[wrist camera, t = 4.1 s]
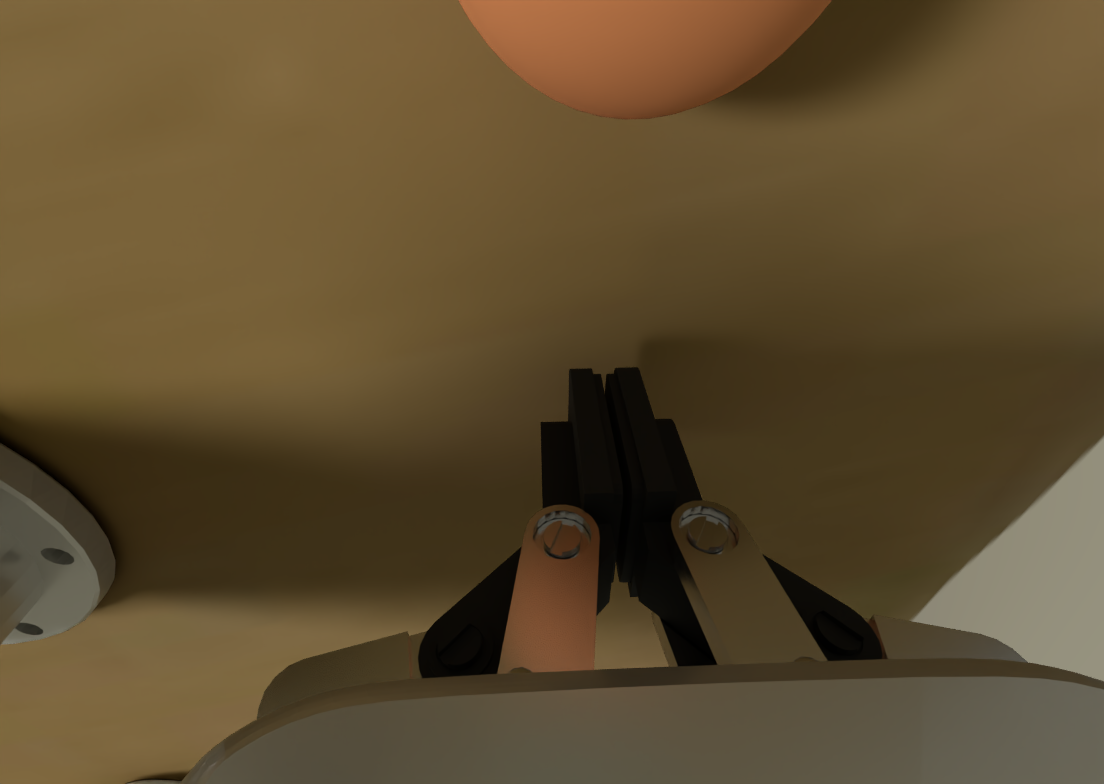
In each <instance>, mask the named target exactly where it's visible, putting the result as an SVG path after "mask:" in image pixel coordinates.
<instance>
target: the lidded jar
mask: <svg viewBox="0 0 1104 784" xmlns="http://www.w3.org/2000/svg"><path fill="white" fill-rule="evenodd" d="M181 782H182V781H176V780H156V779H154V780H140V781H134V782H130V783H127V784H180V783H181Z"/></svg>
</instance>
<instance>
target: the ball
mask: <svg viewBox="0 0 1104 784" xmlns="http://www.w3.org/2000/svg"><path fill="white" fill-rule="evenodd" d="M831 1H832V0H459V2H460V4H461V6H462V7H463V9H464V11H465V13H466V14H467V16H468V18H469V19H470V21H471V22H472V24H473V25H474V26H475V28H476V29H477V30H478V32H479V33H480V35H481V36H482V37H483V39H484V40H485V41H486V43H487V44H488V45H489V47H490V48H491V49H492V50H493V51H494V52H495V53H496V54H497V55H498V56H499V57H500V58H501V60H502V61H503V62H504V63H505V64H506V65H507V66H508V67H509V68H510V69H511V70H513V71H514V72H515V73H516V74H517V75H519V76H520V77H521V78H522V79H523V80H525V81H526V82H527V83H528V84H529V85H531V86H532V87H534V88H535V89H537V90H539V91H540V92H542V93H543V94H545V95H547V96H548V97H550V98H551V99H553V100H555V101H557V102H560V103H562V104H564V105H567V106H569V107H571V108H573V109H576V110H579V111H582V112H586V113H590V114H593V115H597V116H601V117H609V118H618V119H649V118H655V117H661V116H666V115H672V114H676V113H679V112H682V111H685V110H688V109H691V108H694V107H697V106H700V105H703V104H706V103H708V102H710V101H712V100H714V99H716V98H718V97H720V96H722V95H724V94H727V93H729V92H731V91H732V90H734V89H736V88H737V87H739V86H740V85H742V84H743V83H745V82H746V81H748V80H750V79H751V78H753V77H754V76H756V75H757V74H759V73H760V72H761V71H762V70H763V69H765V68H766V67H767V66H768V65H770V64H771V63H772V62H773V61H775V60H776V59H777V58H778V57H779V56H781V55H782V54H783V53H784V52H785V51H786V50H787V49H788V48H789V47H790V46H791V45H792V44H793V43H794V42H795V41H796V40H797V39H798V38H799V37H800V36H801V35H802V34H803V33H804V32H805V31H806V30H807V29H808V28H809V27H810V26H811V25H812V24H813V23H814V22H815V20H816V19H817V18H818V17H819V16H820V14H821V13H822V12H823V11H824V9H825V8H826V7H827V6H828V5H829V3H830V2H831Z"/></svg>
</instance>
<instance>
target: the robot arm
mask: <svg viewBox="0 0 1104 784" xmlns="http://www.w3.org/2000/svg"><path fill="white" fill-rule="evenodd" d="M541 455H542V496H543V509H542V510H540V511H539V512H537V513H535V514H534V516H533V517H532V518H531V519H530V520H529V522H528V524H527V527H526V529H525V533H524V538H523V544H522V547H521V548H520V549H519V550H517V551H516V552H515V553H514V554H513V555H512V556H510V557H509V558H508V559H507V560H506V561H505V562H504V563H502V564H501V565H500V566H499V567H498V568H497V569H496V570H494V571H493V572H492V573H491V574H490V575H489V576H487V577H486V578H485V579H484V580H483V581H482V582H481V583H479V584H478V585H477V586H476V587H475V588H474V589H473V590H471V591H470V592H469V593H468V594H467V595H466V596H464V597H463V598H462V599H461V600H460V601H459V602H458V603H456V604H455V605H454V606H453V607H452V608H451V609H450V610H448V611H447V612H446V613H445V614H444V615H443V616H441V617H440V618H439V619H438V620H437V621H436V622H435V623H434V624H433V625H432V626H431V627H430V629H429V630H428V631H426V632H422V633H419V634H415V635H411V636H409V634H408V631H407V632H403V633H399V634H396V635H392V636H388V637H384V638H381V639H377V640H373V641H370V642H366V643H362V644H358V645H355V646H351V647H347V648H343V649H340V650H336V651H332V652H328V653H325V654H321V655H317V656H313V657H310V658H306V659H303V660H300V661H298V662H296V663H294V664H291V665H289V666H288V667H287V668H285V669H284V670H283V671H282V672H280V673H279V674H278V675H277V676H276V677H275V678H274V679H273V680H272V682H271V683H270V685H269V686H268V687H267V689H266V690H265V692H264V694H263V697H262V700H261V703H260V705H259V709H258V715H257V720H255V721H253V722H251V723H249V724H248V725H246V726H244V727H243V728H241V729H240V730H238V731H236V732H235V733H233V734H231V735H230V736H228V737H227V738H226V739H224V740H223V741H222V742H220V743H219V744H217V745H216V746H215V747H213V748H212V749H211V750H210V751H209V752H208V753H207V754H206V755H204V756H203V757H202V758H201V759H200V760H199V762H198V763H197V764H196V765H195V766H194V767H193V768H192V769H191V771H190V772H189V773H188V774H187V775H186V776H185V778H184V779H183V780H182V782H181V783H180V784H1104V681H1101V680H1098V679H1094V678H1091V677H1088V676H1085V675H1082V674H1078V673H1075V672H1071V671H1067V670H1062V669H1059V668H1055V667H1050V666H1044V665H1039V664H1034V663H1028V662H1027V661H1026V660H1025V659H1023V658H1022V657H1021V656H1020V655H1019V654H1018V653H1017V652H1016V651H1014V650H1013V649H1012V648H1010V647H1008V646H1007V645H1005V644H1003V643H1002V642H1000V641H998V640H997V639H994V638H991V637H988V636H984V635H982V634H978V633H972V632H966V631H961V630H955V629H950V628H944V627H939V626H933V625H928V624H922V623H917V622H911V621H906V620H900V619H895V618H889V617H884V616H878V615H873V616H872V617H871V619H865V618H863V617H862V616H860V615H859V614H858V613H856V612H855V611H854V610H852V609H851V608H850V607H848V606H847V605H845V604H843V603H842V602H840V601H838V600H837V599H835V598H833V597H832V596H830V595H829V594H827V593H825V592H824V591H822V590H820V589H819V588H817V587H815V586H814V585H812V584H810V583H809V582H807V581H806V580H804V579H802V578H801V577H799V576H797V575H796V574H794V573H792V572H791V571H789V570H787V569H786V568H784V567H783V566H781V565H779V564H778V563H776V562H774V561H773V560H771V559H769V558H768V557H766V556H764V555H763V554H762V553H761V552H760V550H759V548H758V547H757V545H756V543H755V542H754V540H753V539H752V537H751V535H750V534H749V532H748V530H747V529H746V527H745V526H744V524H743V523H742V521H741V520H740V519H739V518H738V517H737V515H736V514H734V513H733V512H732V511H730V510H729V509H728V508H726V507H724V506H721V505H719V504H717V503H714V502H709V501H703V500H702V498H701V495H700V492H699V489H698V487H697V484H696V481H695V478H694V476H693V473H692V470H691V467H690V465H689V462H688V459H687V456H686V453H685V451H684V448H683V445H682V442H681V440H680V437H679V434H678V431H677V429H676V426H675V424H674V422H673V420H672V419H655V418H654V415H653V412H652V409H651V406H650V403H649V399H648V396H647V393H646V390H645V387H644V384H643V380H642V377H641V374H640V371H639V369H638V368H637V367H632V368H615V370H614V374H607V375H606V385H605V393H604V388H603V383H602V378H601V374H593V371H592V369H591V368H588V369H570V370H569V406H568V421H567V422H541ZM615 563H616V565H617V571H618V577H619V581H620V582H628V587H629V592H630V597H638V598H639V601H640V602H641V603H642V604H644V605H645V606H646V607H648V608H649V609H650V610H651V611H652V612H651V614H652V619H653V624H654V626H655V629H656V632H657V635H658V637H659V640H660V643H661V646H662V649H663V651H664V654H665V657H666V660H667V662H668V665H669V667H653V668H627V669H602V670H594V656H595V633H596V616H597V615H598V614H599V613H600V611H601V610H602V609H603V608H604V607H605V606H606V605H607V604H608V602H609V598H610V590H611V583H613V579H614V571H615ZM114 579H115V558H114V555H113V552H112V549H111V546H110V543H109V540H108V538H107V536H106V535H105V533H104V532H103V530H102V529H101V527H100V526H99V524H98V523H97V521H96V520H95V518H94V517H93V515H92V514H91V513H90V512H89V511H88V510H87V509H86V508H85V507H84V506H83V505H82V504H81V503H80V502H79V501H78V500H77V499H76V498H75V497H74V496H73V495H72V494H71V493H70V492H69V491H68V490H67V489H66V488H65V487H63V486H62V485H61V484H60V483H58V482H57V481H56V480H54V479H53V478H52V477H51V476H49V475H48V474H47V473H45V472H44V471H43V470H42V469H40V468H39V467H38V466H36V465H35V464H34V463H32V462H30V461H29V460H27V459H26V458H24V457H22V456H21V455H19V454H18V453H16V452H14V451H13V450H11V449H9V448H8V447H6V446H5V445H3V444H1V443H0V645H1V644H15V643H21V642H27V641H33V640H40V639H43V638H46V637H50V636H53V635H56V634H59V633H62V632H65V631H68V630H70V629H71V628H73V627H75V626H76V625H78V624H80V623H81V622H83V621H85V620H86V618H87V617H88V616H89V615H90V614H91V612H92V611H93V610H94V609H95V608H96V606H97V605H98V604H99V602H100V601H101V600H102V599H103V597H104V596H105V595H106V594H107V592H108V590H109V588H110V586H111V584H112V583H113V581H114Z"/></svg>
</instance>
